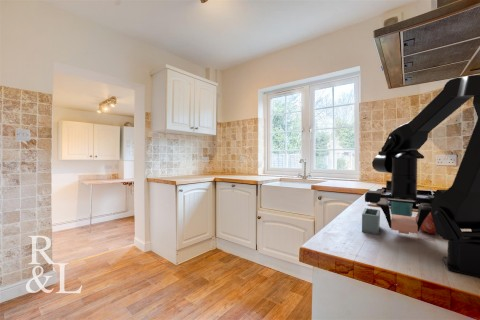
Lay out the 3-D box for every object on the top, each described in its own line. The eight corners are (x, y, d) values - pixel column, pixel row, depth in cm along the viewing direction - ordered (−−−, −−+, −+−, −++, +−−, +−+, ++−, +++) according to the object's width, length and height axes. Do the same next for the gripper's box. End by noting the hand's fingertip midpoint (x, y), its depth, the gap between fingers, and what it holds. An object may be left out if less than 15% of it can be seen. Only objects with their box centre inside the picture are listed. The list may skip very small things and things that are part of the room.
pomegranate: (426, 234, 71) (401, 215, 71) (443, 217, 69) (418, 198, 69) (444, 246, 63) (417, 225, 63) (464, 228, 62) (436, 206, 62)
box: (378, 234, 64) (378, 216, 64) (361, 231, 67) (362, 213, 66) (379, 226, 71) (379, 209, 71) (364, 224, 74) (365, 208, 74)
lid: (417, 237, 56) (417, 226, 56) (391, 233, 59) (391, 222, 59) (414, 227, 64) (414, 217, 64) (391, 223, 68) (391, 214, 68)
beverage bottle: (416, 222, 76) (417, 164, 76) (395, 221, 77) (395, 164, 77) (406, 217, 82) (407, 164, 82) (386, 216, 84) (387, 164, 83)
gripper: (443, 174, 63) (442, 228, 63) (368, 171, 74) (367, 217, 74) (452, 177, 54) (450, 240, 54) (364, 173, 64) (364, 226, 65)
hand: (403, 229), depth 62 cm, fingers closed on lid, 6 cm apart
